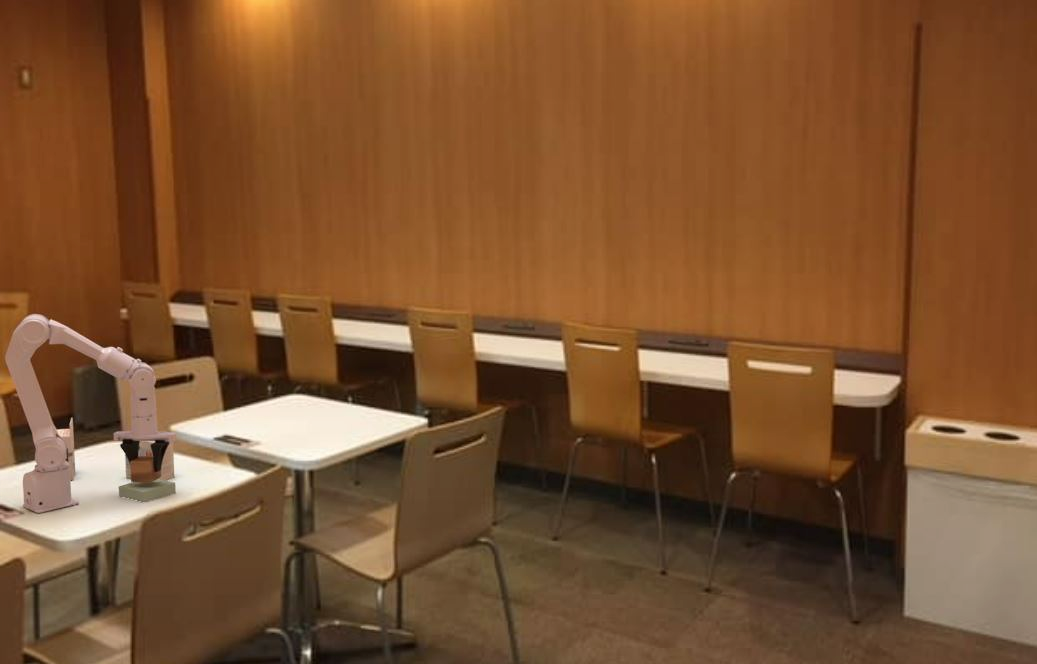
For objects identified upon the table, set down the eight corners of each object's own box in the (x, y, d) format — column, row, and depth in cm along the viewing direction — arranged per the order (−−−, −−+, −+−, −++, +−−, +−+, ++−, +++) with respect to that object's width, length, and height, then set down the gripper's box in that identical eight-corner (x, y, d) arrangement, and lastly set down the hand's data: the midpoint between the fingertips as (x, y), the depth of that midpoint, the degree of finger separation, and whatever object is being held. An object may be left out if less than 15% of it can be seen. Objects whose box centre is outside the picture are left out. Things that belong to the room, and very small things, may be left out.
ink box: (55, 474, 245) (51, 418, 243) (76, 472, 247) (72, 416, 245) (52, 482, 237) (48, 425, 235) (74, 480, 239) (70, 423, 237)
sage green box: (144, 504, 221) (143, 492, 221) (119, 498, 226) (118, 486, 225) (175, 494, 229) (175, 482, 229) (150, 488, 233) (150, 477, 233)
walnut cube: (151, 482, 224) (150, 462, 223) (131, 482, 224) (130, 461, 224) (161, 476, 229) (160, 456, 228) (141, 476, 229) (140, 456, 229)
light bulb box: (125, 478, 241) (123, 437, 240) (146, 472, 247) (144, 431, 246) (154, 484, 236) (152, 442, 235) (175, 477, 242) (174, 436, 241)
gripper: (180, 411, 228) (183, 466, 230) (122, 410, 229) (125, 465, 231) (167, 418, 221) (170, 474, 223) (107, 417, 222) (110, 473, 224)
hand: (146, 470), depth 227 cm, fingers closed on walnut cube, 5 cm apart
